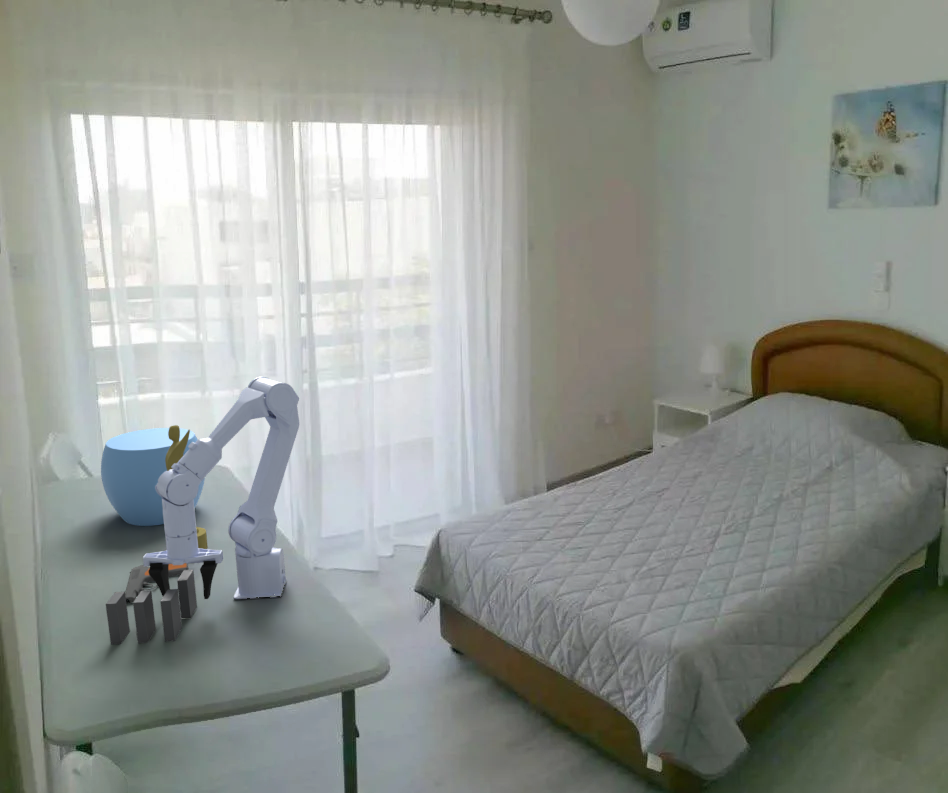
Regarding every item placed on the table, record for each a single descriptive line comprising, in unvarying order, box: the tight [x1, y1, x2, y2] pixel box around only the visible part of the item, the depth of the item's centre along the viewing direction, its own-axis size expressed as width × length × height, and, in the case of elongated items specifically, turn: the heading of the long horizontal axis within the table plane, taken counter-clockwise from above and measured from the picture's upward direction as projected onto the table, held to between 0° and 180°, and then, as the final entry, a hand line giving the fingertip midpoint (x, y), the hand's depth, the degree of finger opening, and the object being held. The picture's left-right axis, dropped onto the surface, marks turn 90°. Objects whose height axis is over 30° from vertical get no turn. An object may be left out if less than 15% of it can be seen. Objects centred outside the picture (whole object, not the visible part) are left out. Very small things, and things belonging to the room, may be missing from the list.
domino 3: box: [176, 569, 198, 619], centre depth 162 cm, size 2×5×8 cm, turn 4°
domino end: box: [105, 591, 131, 645], centre depth 153 cm, size 2×5×8 cm, turn 4°
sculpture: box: [165, 424, 209, 549], centre depth 190 cm, size 11×7×30 cm, turn 42°
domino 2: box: [159, 588, 183, 643], centre depth 153 cm, size 2×5×8 cm, turn 4°
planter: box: [100, 427, 206, 527], centre depth 215 cm, size 25×25×20 cm
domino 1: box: [132, 589, 157, 644], centre depth 153 cm, size 2×5×8 cm, turn 4°
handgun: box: [125, 563, 189, 605], centre depth 176 cm, size 2×16×12 cm
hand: (187, 597), depth 162 cm, fingers open, 7 cm apart
